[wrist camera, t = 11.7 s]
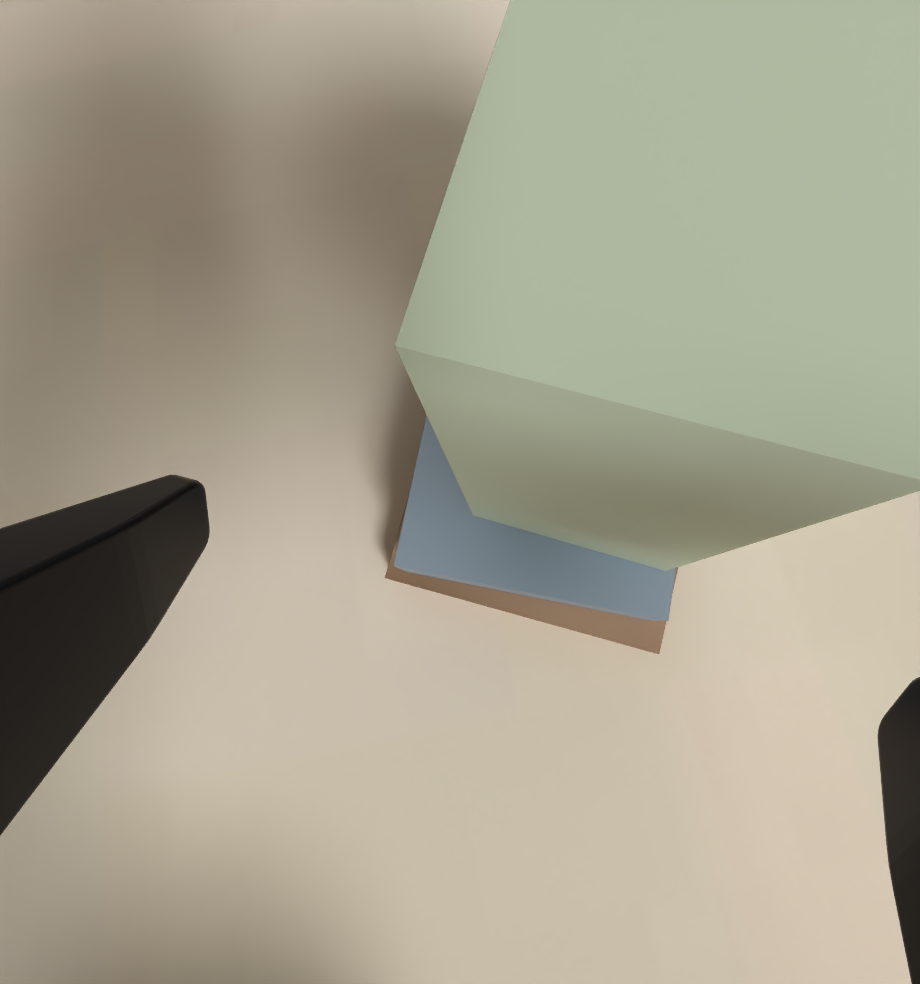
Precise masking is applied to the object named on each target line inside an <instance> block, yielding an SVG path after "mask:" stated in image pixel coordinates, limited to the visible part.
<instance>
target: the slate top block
mask: <svg viewBox="0 0 920 984" xmlns="http://www.w3.org/2000/svg"><path fill="white" fill-rule="evenodd" d="M394 566H395V567H397V568H400V569H402V570H404V571H406V572H410V573H415V574H420V575H425V576H430V577H435V578H440V579H445V580H450V581H455V582H460V583H465V584H470V585H475V586H480V587H485V588H490V589H495V590H500V591H504V592H509V593H514V594H519V595H524V596H529V597H534V598H539V599H544V600H549V601H554V602H559V603H564V604H569V605H574V606H579V607H584V608H589V609H594V610H599V611H604V612H609V613H614V614H619V615H624V616H629V617H634V618H639V619H644V620H649V621H668V618H669V611H670V605H671V598H672V591H673V584H674V577H675V570H676V568H673V569H670V570H667V571H664V570H660V569H657V568H653V567H650V566H646V565H643V564H639V563H636V562H632V561H629V560H625V559H622V558H618V557H615V556H611V555H608V554H605V553H601V552H598V551H594V550H591V549H587V548H584V547H580V546H577V545H573V544H570V543H566V542H563V541H559V540H556V539H553V538H549V537H546V536H542V535H539V534H535V533H532V532H528V531H525V530H521V529H518V528H514V527H511V526H507V525H504V524H500V523H497V522H494V521H490V520H487V519H483V518H480V517H476V516H473V514H472V512H471V510H470V508H469V506H468V503H467V501H466V499H465V497H464V495H463V493H462V490H461V488H460V486H459V484H458V482H457V480H456V477H455V475H454V473H453V471H452V469H451V467H450V464H449V462H448V460H447V458H446V456H445V454H444V451H443V449H442V447H441V445H440V443H439V441H438V438H437V436H436V434H435V432H434V430H433V428H432V425H431V423H430V421H429V419H428V417H427V416H426V420H425V425H424V430H423V434H422V439H421V443H420V448H419V452H418V457H417V461H416V466H415V470H414V475H413V480H412V484H411V489H410V493H409V498H408V502H407V507H406V511H405V516H404V521H403V525H402V530H401V534H400V539H399V543H398V548H397V552H396V557H395V562H394Z"/></svg>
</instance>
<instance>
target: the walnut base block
mask: <svg viewBox="0 0 920 984" xmlns="http://www.w3.org/2000/svg"><path fill="white" fill-rule="evenodd" d="M408 498H409V497H408ZM407 502H408V500H407ZM406 507H407V504H406ZM406 507H405V511H406ZM405 511H404V514H403V518H402V521H401V524H400V528H399V531H398V535H397V538H396V542H395V545H394V548H393V552H392V555H391V559H390V562H389V566H388V569H387V572H386V576H385V578H388V579H391V580H394V581H398V582H401V583H405V584H408V585H412V586H416V587H419V588H423V589H426V590H430V591H434V592H437V593H441V594H444V595H448V596H452V597H455V598H459V599H462V600H466V601H470V602H473V603H477V604H480V605H484V606H487V607H491V608H495V609H498V610H502V611H505V612H509V613H513V614H516V615H520V616H523V617H527V618H531V619H534V620H538V621H541V622H545V623H549V624H552V625H556V626H559V627H563V628H567V629H570V630H574V631H577V632H581V633H585V634H588V635H592V636H595V637H599V638H603V639H606V640H610V641H613V642H617V643H620V644H624V645H628V646H631V647H635V648H638V649H642V650H646V651H649V652H653V653H657V654H659V652H660V647H661V643H662V638H663V634H664V629H665V624H666V621H649V620H644V619H639V618H634V617H629V616H624V615H619V614H614V613H609V612H604V611H599V610H594V609H589V608H584V607H579V606H574V605H569V604H564V603H559V602H554V601H549V600H544V599H539V598H534V597H529V596H524V595H519V594H514V593H509V592H504V591H500V590H495V589H490V588H485V587H480V586H475V585H470V584H465V583H460V582H455V581H450V580H445V579H440V578H435V577H430V576H425V575H420V574H415V573H410V572H406V571H404V570H402V569H400V568H397V567H395V566H394V562H395V557H396V552H397V548H398V543H399V539H400V534H401V530H402V525H403V521H404V516H405ZM677 570H678V567H676V570H675V577H674V583H675V579H676V574H677ZM673 588H674V584H673ZM672 593H673V591H672Z"/></svg>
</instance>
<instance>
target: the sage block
mask: <svg viewBox="0 0 920 984" xmlns="http://www.w3.org/2000/svg"><path fill="white" fill-rule="evenodd" d="M395 347H396V349H397V352H398V354H399V356H400V358H401V360H402V362H403V365H404V367H405V369H406V371H407V373H408V375H409V378H410V380H411V382H412V384H413V386H414V388H415V391H416V393H417V395H418V397H419V399H420V402H421V404H422V406H423V408H424V410H425V412H426V415H427V417H428V419H429V421H430V423H431V425H432V428H433V430H434V432H435V434H436V436H437V438H438V441H439V443H440V445H441V447H442V449H443V451H444V454H445V456H446V458H447V460H448V462H449V464H450V467H451V469H452V471H453V473H454V475H455V477H456V480H457V482H458V484H459V486H460V488H461V490H462V493H463V495H464V497H465V499H466V501H467V503H468V506H469V508H470V510H471V512H472V514H473V516H476V517H480V518H483V519H487V520H490V521H494V522H497V523H500V524H504V525H507V526H511V527H514V528H518V529H521V530H525V531H528V532H532V533H535V534H539V535H542V536H546V537H549V538H553V539H556V540H559V541H563V542H566V543H570V544H573V545H577V546H580V547H584V548H587V549H591V550H594V551H598V552H601V553H605V554H608V555H611V556H615V557H618V558H622V559H625V560H629V561H632V562H636V563H639V564H643V565H646V566H650V567H653V568H657V569H660V570H664V571H667V570H670V569H673V568H676V567H679V566H682V565H686V564H689V563H692V562H695V561H698V560H701V559H705V558H708V557H711V556H714V555H717V554H720V553H724V552H727V551H730V550H733V549H736V548H739V547H743V546H746V545H749V544H752V543H755V542H758V541H762V540H765V539H768V538H771V537H774V536H778V535H781V534H784V533H787V532H790V531H793V530H797V529H800V528H803V527H806V526H809V525H812V524H816V523H819V522H822V521H825V520H828V519H831V518H835V517H838V516H841V515H844V514H847V513H850V512H854V511H857V510H860V509H863V508H866V507H869V506H873V505H876V504H879V503H882V502H885V501H889V500H892V499H895V498H898V497H901V496H904V495H908V494H911V493H914V492H917V491H920V0H510V3H509V6H508V9H507V12H506V15H505V17H504V20H503V23H502V26H501V29H500V32H499V35H498V38H497V41H496V44H495V47H494V50H493V53H492V56H491V59H490V62H489V65H488V68H487V71H486V74H485V77H484V80H483V83H482V86H481V89H480V92H479V95H478V98H477V101H476V104H475V107H474V110H473V113H472V116H471V119H470V122H469V125H468V128H467V131H466V134H465V137H464V140H463V143H462V146H461V149H460V152H459V155H458V158H457V161H456V164H455V167H454V170H453V173H452V176H451V179H450V182H449V185H448V188H447V191H446V194H445V197H444V200H443V203H442V206H441V209H440V212H439V215H438V218H437V221H436V224H435V227H434V230H433V233H432V236H431V239H430V242H429V245H428V248H427V250H426V253H425V256H424V259H423V262H422V265H421V268H420V271H419V274H418V277H417V280H416V283H415V286H414V289H413V292H412V295H411V298H410V301H409V304H408V307H407V310H406V313H405V316H404V319H403V322H402V325H401V328H400V331H399V334H398V337H397V340H396V343H395Z"/></svg>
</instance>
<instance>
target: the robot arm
mask: <svg viewBox="0 0 920 984" xmlns="http://www.w3.org/2000/svg"><path fill="white" fill-rule="evenodd" d="M208 538H209V520H208V510H207V501H206V493H205V488H204V486H203V485H202V483H200V482H199V481H197V480H193V479H189V478H186V477H182V476H178V475H168V476H165V477H161V478H158V479H155V480H152V481H149V482H146V483H143V484H139V485H136V486H133V487H130V488H127V489H124V490H120V491H117V492H114V493H111V494H108V495H105V496H102V497H98V498H95V499H92V500H89V501H86V502H83V503H79V504H76V505H73V506H70V507H67V508H64V509H60V510H57V511H54V512H51V513H48V514H45V515H42V516H38V517H35V518H32V519H29V520H26V521H23V522H19V523H16V524H13V525H10V526H7V527H4V528H1V529H0V835H1V834H2V833H3V831H4V830H5V829H6V827H7V826H8V825H9V823H10V822H11V821H12V820H13V818H14V817H15V816H16V814H17V813H18V812H19V810H20V809H21V808H22V806H23V805H24V804H25V802H26V801H27V800H28V798H29V797H30V796H31V795H32V793H33V792H34V791H35V789H36V788H37V787H38V785H39V784H40V783H41V781H42V780H43V779H44V777H45V776H46V775H47V774H48V772H49V771H50V770H51V768H52V767H53V766H54V764H55V763H56V762H57V760H58V759H59V758H60V756H61V755H62V754H63V753H64V751H65V750H66V749H67V747H68V746H69V745H70V743H71V742H72V741H73V739H74V738H75V737H76V735H77V734H78V733H79V731H80V730H81V729H82V728H83V726H84V725H85V724H86V722H87V721H88V720H89V718H90V717H91V716H92V714H93V713H94V712H95V710H96V709H97V708H98V707H99V705H100V704H101V703H102V701H103V700H104V699H105V697H106V696H107V695H108V693H109V692H110V691H111V689H112V688H113V687H114V685H115V684H116V683H117V682H118V680H119V679H120V678H121V676H122V675H123V674H124V672H125V671H126V670H127V668H128V667H129V666H130V664H131V663H132V662H133V661H134V659H135V658H136V657H137V655H138V654H139V653H140V651H141V650H142V648H143V647H144V646H145V644H146V643H147V642H148V640H149V639H150V637H151V636H152V634H153V633H154V631H155V630H156V628H157V626H158V625H159V623H160V622H161V620H162V618H163V617H164V615H165V613H166V612H167V610H168V608H169V607H170V605H171V603H172V602H173V600H174V598H175V597H176V595H177V594H178V592H179V590H180V589H181V587H182V585H183V584H184V582H185V580H186V579H187V577H188V575H189V574H190V572H191V570H192V569H193V567H194V565H195V564H196V562H197V560H198V559H199V557H200V555H201V554H202V552H203V550H204V549H205V547H206V544H207V542H208ZM878 748H879V760H880V772H881V784H882V796H883V809H884V821H885V833H886V845H887V853H888V862H889V869H890V874H891V880H892V886H893V891H894V896H895V901H896V906H897V911H898V916H899V922H900V927H901V932H902V937H903V942H904V947H905V952H906V957H907V962H908V967H909V972H910V977H911V982H912V984H920V677H918V678H916V679H914V680H913V681H912V682H911V683H910V684H909V685H908V687H907V688H906V689H905V690H904V692H903V693H902V694H901V695H900V697H899V698H898V699H897V700H896V702H895V703H894V704H893V705H892V707H891V708H890V709H889V710H888V712H887V713H886V714H885V716H884V717H883V719H882V721H881V723H880V726H879V730H878Z"/></svg>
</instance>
